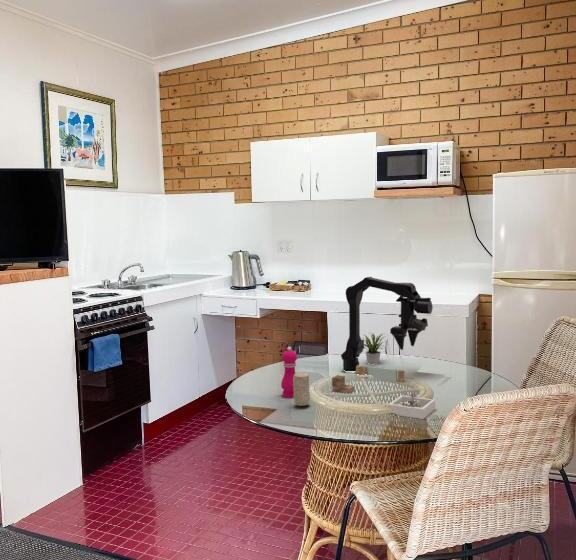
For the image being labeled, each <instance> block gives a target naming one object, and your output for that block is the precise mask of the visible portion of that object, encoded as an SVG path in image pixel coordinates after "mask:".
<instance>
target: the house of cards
mask: <svg viewBox="0 0 576 560" xmlns="http://www.w3.org/2000/svg"><path fill="white" fill-rule="evenodd" d="M410 396H411V400H409V401H408V403H410V405H408V406H410V407H416V408H422V406H421V405H420V403H419V402H417V397H418V395H417V393H416V392H415V391H414V392H412V394H411V395H410ZM414 397H415V401H414ZM415 402H416V403H415Z"/></svg>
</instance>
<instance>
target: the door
mask: <svg viewBox="0 0 576 560" xmlns="http://www.w3.org/2000/svg"><path fill="white" fill-rule="evenodd" d="M366 374H367V375H372V376H373V377H375V378H377V379H376V380H379V379H380V381H389V382H398V369H397V368H396V369H394V368H387V367H380V366H379V367H378V366H377V367H376V366H371V365H369V366H368V365H367V366H366Z"/></svg>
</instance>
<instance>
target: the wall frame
mask: <svg viewBox="0 0 576 560" xmlns="http://www.w3.org/2000/svg"><path fill="white" fill-rule="evenodd" d="M356 374H359V375H365V374H366V366H364V365H359V366H356V373H355V375H356ZM403 381H404V382H405V370H401V369H399V370H397V382H398V383H403Z"/></svg>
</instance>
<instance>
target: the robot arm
mask: <svg viewBox="0 0 576 560" xmlns="http://www.w3.org/2000/svg"><path fill="white" fill-rule="evenodd" d="M370 287H371V288H374V289H380V290H385V291H388V292H392V293H394V294H396V295H398V296H399V297H397V299H396V300H395V301H396V302H397V303H400V314H398V317H399V318H400V323H398V325H397V326H396V325H395V326H392V327H391V328H390V330H389V331H390V332H389V333H390V335H392V336H393V337H394V340H395V341H396V343H397V345H398V348H399V349H400V350H401V351H403V350H404V348H405V347H404V345H405V344H404V343H405V338H406V337H407V336H408V337H409V342H410V343H409V344H410V346H411V347H415V344H416V341H417V337H418V335H419V334H420V333H421V332H422V331H426V327H428V318H426V317H424V318H422V319H421V318H420V319H419V318H418V317H417V314H425V315H431V314H432V312H433V303H432V299H431V297H422V296H421V295H420V294H419V292H418V291H417V288H416V286H415V284H414V283H412V282H394V281H389V280H384V279H381V278H375V277H372V276H367V277H364V278H363V279H362V280H361V281H359V282H357V283H356V284H354V285H350V286H348V287H347V288H346V289H345V297H346V301H347V303H348V306H349V309H348V310H349V312H348V313H349V315H348V318H349V320H348V323H349V324H348V327H349V328H348V330H349V331H348V332H349V333H348V335H349V337H348V339H347V342H346V345H345V346H346V347H345V351H343V352H342V354H340V356H341V360H342V367H343V369H342V370H345V371H356V366H360V361H359V357H360V356H361V354H362V353H363V351H364V349H365V348H364V347H365V346H364V344H365V340H364V339H362V337H361V335H360V334H361V333H360V332H361V330H360V329H361V328H360V327H361V326H360V323H361V322H360V318H361V317H360V316H361V315H360V311H361V310H360V308H361V307H360V305H361V303H362V300H363V296H364V292H365V291H367V290H368V289H369V288H370ZM415 313H417V314H415ZM407 333H408V334H407Z"/></svg>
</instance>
